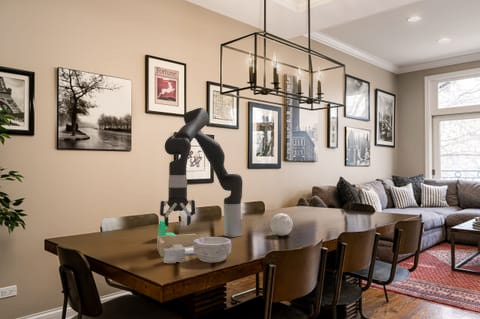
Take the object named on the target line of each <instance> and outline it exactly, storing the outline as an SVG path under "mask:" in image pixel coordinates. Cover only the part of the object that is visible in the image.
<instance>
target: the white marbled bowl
mask: <svg viewBox="0 0 480 319" xmlns="http://www.w3.org/2000/svg"><path fill="white" fill-rule="evenodd" d="M193 244H194V247H193V249H194V255H196V256H198V259H199V261H202V262H204V263H214V264H215V263H220V262H224V260H226V258H227V256H228V255H230V254H231V253H232V240H231V239H229V238H226V237H222V236H206V237H200V238H199V237H198V238H197V239H195V240H194V242H193Z"/></svg>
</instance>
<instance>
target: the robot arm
mask: <svg viewBox="0 0 480 319" xmlns="http://www.w3.org/2000/svg"><path fill="white" fill-rule="evenodd" d="M183 122H184V125H183V126H182V127H180V128H179V130H178V131H177V132H176V133H174V134H173V135H171V136H169V137H168V138H167V139H166V140H165V142H164V150H165V152H166V153H167V154H168V155H170V156H179V158H178V159H175V160H171V161H170V162H169V166H168V171H169V172H168V197H167V198H168V200H167V201H166V200H160V204H159V206H160V207H159V215H160V217H164V219H163V220H164V224H165V225H166V227H168V228H169V215H170V214H172V212H177V211H178V212H182V211H184V213H185V214H186V225H187V226H190V225H191V224H192V216H194V215H196V202H195V200H194V199H191V200H188V178H187V164H188V160H189V155H190V153H191V149H192V146H191V145H192V143H191V142H192V141H193V139H195V140H196V142H197V144H198V146H200V149H201V151H202V153H203V154H204V156H205V157H206V159H207V161H208V163H209V164H210V165H211V168H212V170H213V172H214V174H215V176H216V178H217V180H218V183H219V185H220V186H221V188H222V189H223V190H224V191H228V192H230V195H229V196H227V197H225V198H224V199H223V236H224V237H231V238H232V237H234V238H235V237H240V236H241V237H242V236H243V217H242V204H241V203H242V198H243V185H244V184H243V177H242V176H241V175H240V174H239V173H229V172H228V171H227V169H226V167H225V156H226V155H225V153H224V149H223V148H222V147H221V144H220V143H219V142H218V141H217V140H215V139H213V138H212V137H210V136H209V135H207V134H205V133H204V132H203V131H202V129H203V128H204V127H206V126H207V125H208V124H209V122H210V118H209V114H208V111H207V110H206V109H205V108H203V107H198V108H195V109H191V110H189V111H186V112H185V113H184V114H183ZM188 204H189V206H190V210H191V211H189V210H188V208H187V205H188ZM166 206H168V209H167V210H166V211H165V209H164V208H165V207H166Z"/></svg>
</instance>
